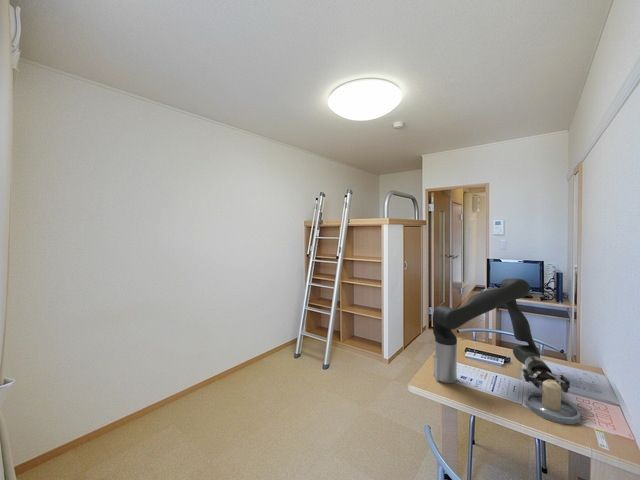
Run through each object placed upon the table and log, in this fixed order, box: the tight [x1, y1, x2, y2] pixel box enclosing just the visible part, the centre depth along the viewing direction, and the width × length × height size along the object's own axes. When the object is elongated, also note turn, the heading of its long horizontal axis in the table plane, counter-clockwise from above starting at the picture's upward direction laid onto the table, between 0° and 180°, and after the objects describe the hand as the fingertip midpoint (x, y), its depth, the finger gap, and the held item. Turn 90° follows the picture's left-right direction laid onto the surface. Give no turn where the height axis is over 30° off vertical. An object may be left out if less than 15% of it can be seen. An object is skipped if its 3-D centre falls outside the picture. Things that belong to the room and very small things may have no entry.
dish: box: [524, 391, 582, 425], centre depth 108 cm, size 16×16×2 cm
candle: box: [541, 379, 562, 411], centre depth 108 cm, size 6×6×10 cm
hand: (552, 387), depth 108 cm, fingers open, 8 cm apart
